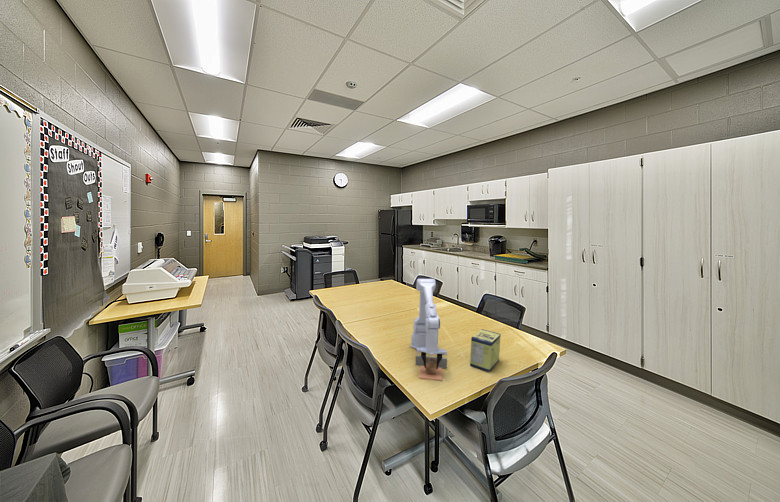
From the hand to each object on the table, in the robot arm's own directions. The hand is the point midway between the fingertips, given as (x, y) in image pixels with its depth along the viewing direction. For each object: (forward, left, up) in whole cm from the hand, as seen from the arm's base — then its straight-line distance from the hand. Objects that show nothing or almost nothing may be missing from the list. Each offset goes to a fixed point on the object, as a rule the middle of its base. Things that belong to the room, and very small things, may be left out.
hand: (431, 367), depth 139 cm
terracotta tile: (0, 0, -3) cm, 3 cm away
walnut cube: (0, 0, -2) cm, 2 cm away
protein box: (+15, +28, -3) cm, 32 cm away
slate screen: (-4, +6, -3) cm, 8 cm away
